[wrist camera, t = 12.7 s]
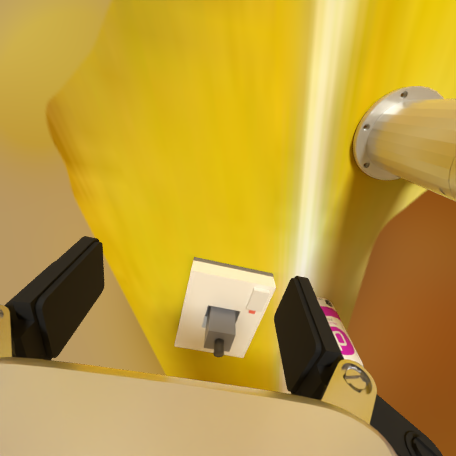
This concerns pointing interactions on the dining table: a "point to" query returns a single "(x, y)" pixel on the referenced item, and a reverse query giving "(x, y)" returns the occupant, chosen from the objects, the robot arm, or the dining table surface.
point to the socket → (223, 303)
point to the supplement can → (339, 331)
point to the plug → (219, 330)
